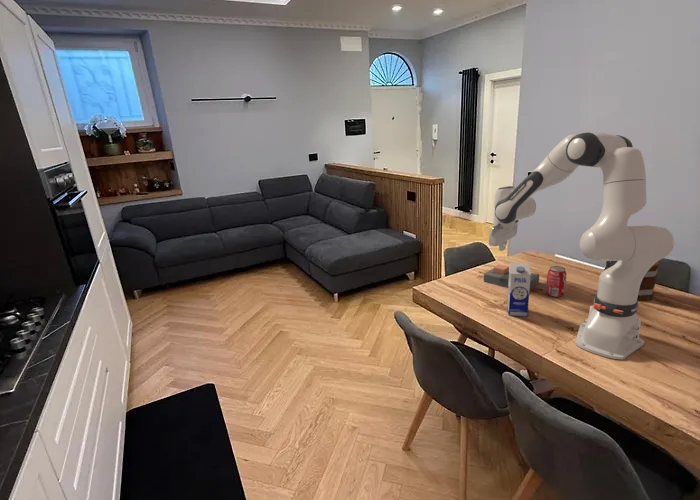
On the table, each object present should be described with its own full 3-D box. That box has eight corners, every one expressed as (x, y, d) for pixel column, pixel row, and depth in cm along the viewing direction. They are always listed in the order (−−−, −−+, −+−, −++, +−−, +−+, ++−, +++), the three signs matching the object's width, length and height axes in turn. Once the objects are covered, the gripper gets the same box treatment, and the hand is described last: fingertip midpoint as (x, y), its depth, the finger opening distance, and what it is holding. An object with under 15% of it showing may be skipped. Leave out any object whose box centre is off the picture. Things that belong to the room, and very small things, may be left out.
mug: (662, 296, 153) (669, 262, 148) (639, 304, 148) (646, 269, 143) (614, 280, 170) (618, 249, 165) (592, 286, 166) (597, 254, 161)
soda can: (560, 290, 165) (562, 265, 161) (567, 297, 158) (570, 271, 154) (543, 290, 166) (545, 265, 162) (549, 298, 159) (552, 271, 155)
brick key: (503, 275, 176) (503, 269, 175) (493, 273, 180) (493, 267, 179) (508, 272, 179) (508, 266, 178) (498, 270, 183) (498, 264, 182)
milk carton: (525, 308, 152) (528, 262, 146) (527, 316, 146) (531, 269, 140) (506, 307, 154) (509, 262, 148) (508, 315, 148) (511, 268, 142)
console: (525, 292, 165) (526, 284, 164) (483, 281, 180) (483, 273, 178) (538, 282, 174) (539, 274, 173) (497, 272, 188) (498, 265, 187)
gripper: (499, 228, 163) (497, 257, 167) (520, 217, 175) (518, 245, 180) (485, 225, 167) (484, 254, 172) (507, 215, 180) (506, 243, 184)
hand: (502, 250), depth 176 cm, fingers closed
